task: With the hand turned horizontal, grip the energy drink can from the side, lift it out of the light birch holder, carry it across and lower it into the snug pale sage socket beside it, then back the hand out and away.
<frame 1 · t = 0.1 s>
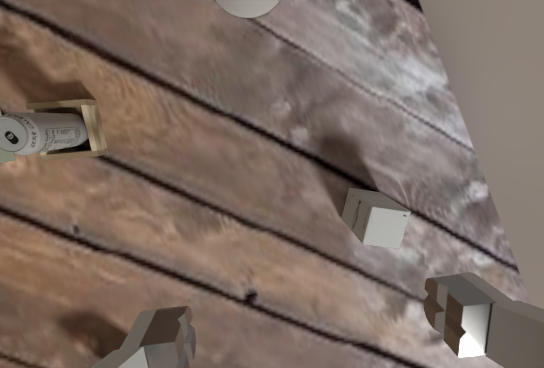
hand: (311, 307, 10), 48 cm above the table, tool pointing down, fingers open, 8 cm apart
supplement box: (359, 205, 61), on the table
energy drink can: (76, 129, 53), on the table
birch holder: (75, 129, 53), on the table
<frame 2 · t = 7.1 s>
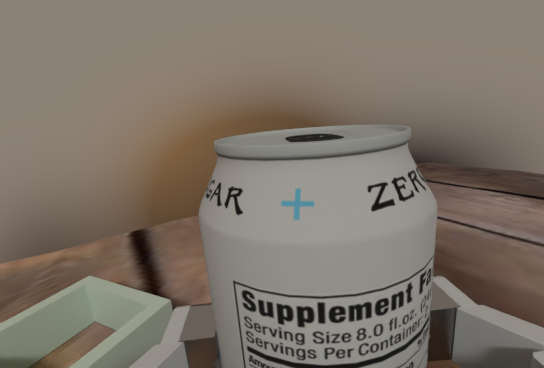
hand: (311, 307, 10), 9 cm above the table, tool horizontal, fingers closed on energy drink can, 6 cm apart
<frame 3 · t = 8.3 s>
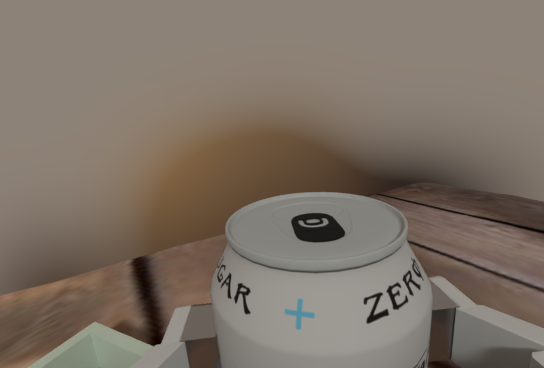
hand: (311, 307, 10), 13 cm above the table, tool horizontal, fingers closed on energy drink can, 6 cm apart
when the fingers open (11 cm above the table, at t = 12.6 s): energy drink can stays where it is, on the table.
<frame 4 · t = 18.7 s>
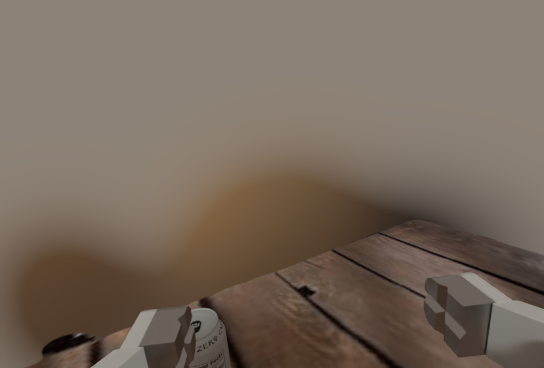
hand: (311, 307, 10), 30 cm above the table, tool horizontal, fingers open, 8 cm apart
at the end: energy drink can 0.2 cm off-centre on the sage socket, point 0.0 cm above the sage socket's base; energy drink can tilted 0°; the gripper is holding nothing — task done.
